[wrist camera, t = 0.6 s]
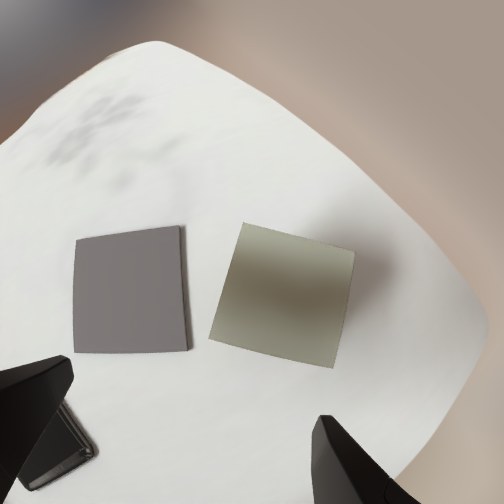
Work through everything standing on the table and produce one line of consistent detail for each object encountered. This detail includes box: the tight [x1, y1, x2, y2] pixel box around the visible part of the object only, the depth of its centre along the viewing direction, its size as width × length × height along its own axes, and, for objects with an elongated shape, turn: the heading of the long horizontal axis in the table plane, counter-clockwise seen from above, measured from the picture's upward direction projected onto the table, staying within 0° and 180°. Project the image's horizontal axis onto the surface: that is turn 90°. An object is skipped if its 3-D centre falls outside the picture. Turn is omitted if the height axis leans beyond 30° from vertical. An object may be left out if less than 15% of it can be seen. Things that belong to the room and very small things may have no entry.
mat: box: [73, 226, 188, 353], centre depth 23 cm, size 11×11×1 cm
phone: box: [17, 403, 94, 492], centre depth 17 cm, size 8×1×15 cm
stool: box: [208, 222, 355, 368], centre depth 19 cm, size 6×6×10 cm
